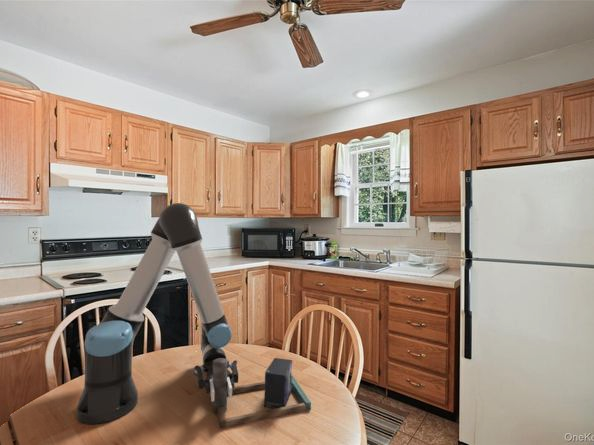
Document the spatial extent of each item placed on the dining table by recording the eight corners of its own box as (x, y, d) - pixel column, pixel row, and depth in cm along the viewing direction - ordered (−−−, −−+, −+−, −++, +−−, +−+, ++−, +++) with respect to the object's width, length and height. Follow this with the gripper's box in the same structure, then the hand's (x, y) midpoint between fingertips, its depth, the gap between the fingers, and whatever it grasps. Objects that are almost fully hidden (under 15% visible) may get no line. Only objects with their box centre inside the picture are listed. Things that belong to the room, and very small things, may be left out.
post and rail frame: (214, 429, 79) (215, 375, 79) (210, 395, 95) (210, 350, 95) (310, 409, 89) (311, 360, 89) (292, 381, 104) (292, 340, 104)
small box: (284, 411, 88) (285, 375, 88) (263, 408, 89) (263, 372, 89) (292, 391, 98) (293, 359, 98) (273, 389, 100) (273, 357, 100)
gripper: (239, 365, 107) (252, 402, 85) (187, 373, 102) (188, 415, 80) (239, 344, 107) (253, 375, 86) (188, 350, 102) (188, 386, 80)
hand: (221, 394), depth 83 cm, fingers closed on post and rail frame, 4 cm apart
